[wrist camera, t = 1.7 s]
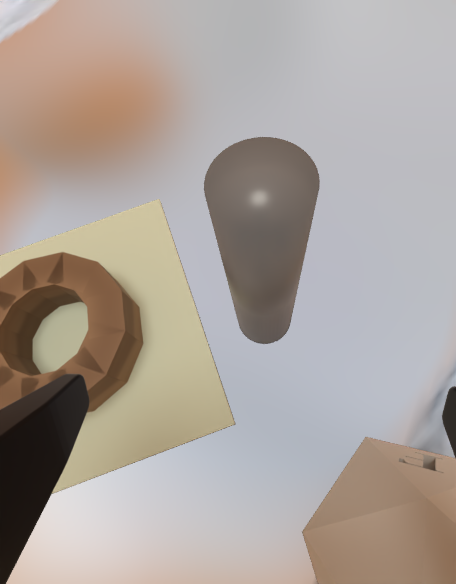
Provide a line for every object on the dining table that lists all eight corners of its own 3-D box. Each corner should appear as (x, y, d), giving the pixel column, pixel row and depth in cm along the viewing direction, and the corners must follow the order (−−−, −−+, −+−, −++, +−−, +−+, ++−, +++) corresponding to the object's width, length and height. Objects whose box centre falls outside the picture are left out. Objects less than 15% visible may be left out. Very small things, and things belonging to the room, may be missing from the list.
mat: (235, 424, 20) (234, 424, 20) (-41, 528, 20) (-47, 530, 19) (160, 202, 26) (159, 198, 26) (-53, 278, 25) (-57, 275, 25)
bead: (103, 439, 20) (77, 441, 17) (-26, 388, 22) (-68, 382, 19) (163, 295, 23) (149, 276, 20) (45, 260, 25) (17, 238, 22)
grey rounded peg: (282, 350, 21) (303, 244, 9) (231, 334, 22) (187, 216, 10) (296, 301, 22) (331, 147, 10) (247, 288, 23) (225, 129, 11)
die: (520, 545, 17) (568, 417, 12) (557, 835, 11) (677, 809, 6) (346, 490, 21) (329, 377, 16) (304, 681, 15) (259, 593, 10)
